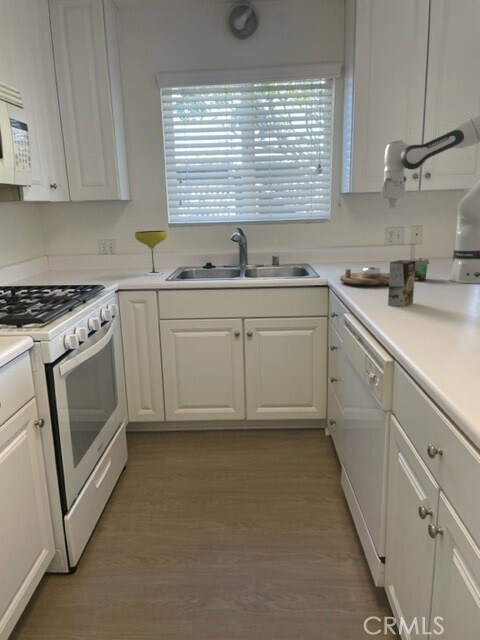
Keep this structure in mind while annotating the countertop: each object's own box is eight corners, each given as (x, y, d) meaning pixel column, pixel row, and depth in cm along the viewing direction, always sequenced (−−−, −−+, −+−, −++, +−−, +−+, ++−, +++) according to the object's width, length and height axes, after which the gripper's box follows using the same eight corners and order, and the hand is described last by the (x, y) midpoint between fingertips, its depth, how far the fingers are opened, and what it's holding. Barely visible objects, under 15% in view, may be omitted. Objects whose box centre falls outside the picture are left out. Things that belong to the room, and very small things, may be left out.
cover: (375, 275, 227) (376, 266, 226) (382, 277, 219) (382, 268, 218) (359, 276, 226) (360, 267, 225) (365, 278, 218) (366, 269, 217)
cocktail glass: (163, 276, 270) (160, 232, 264) (133, 276, 273) (130, 233, 267) (173, 271, 287) (170, 230, 281) (144, 272, 290) (141, 231, 284)
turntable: (385, 274, 239) (386, 263, 237) (412, 282, 212) (412, 270, 210) (332, 276, 236) (332, 266, 234) (352, 286, 209) (352, 273, 207)
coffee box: (404, 307, 171) (406, 263, 168) (387, 305, 175) (389, 262, 172) (413, 302, 178) (415, 260, 174) (397, 301, 182) (398, 259, 178)
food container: (423, 282, 220) (424, 261, 218) (410, 281, 224) (411, 260, 221) (431, 278, 230) (432, 258, 227) (418, 278, 233) (419, 257, 231)
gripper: (391, 177, 211) (390, 208, 214) (407, 178, 226) (406, 207, 230) (378, 178, 215) (377, 209, 218) (394, 178, 230) (393, 208, 234)
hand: (392, 208), depth 224 cm, fingers closed
